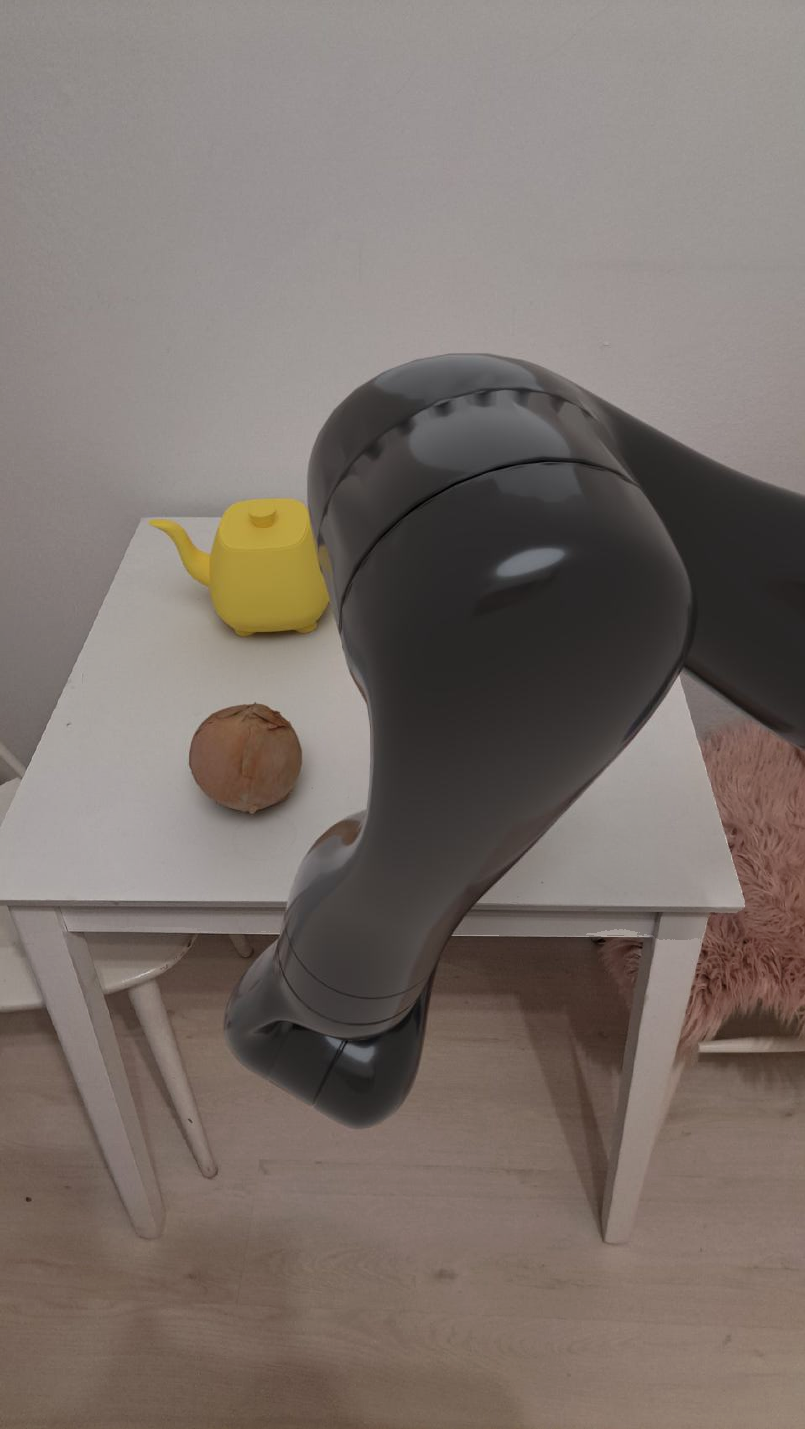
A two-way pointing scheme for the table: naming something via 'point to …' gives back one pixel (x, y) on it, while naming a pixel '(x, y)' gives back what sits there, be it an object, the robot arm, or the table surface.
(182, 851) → the table surface
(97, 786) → the table surface
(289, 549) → the teapot
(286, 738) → the onion
